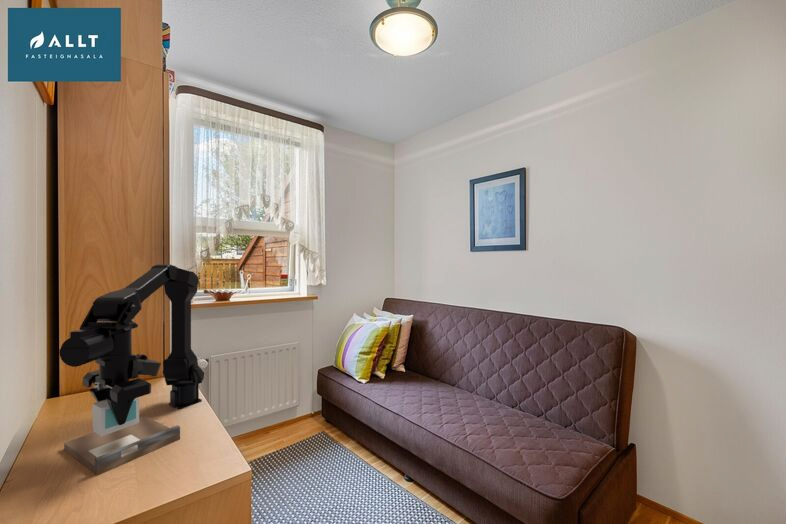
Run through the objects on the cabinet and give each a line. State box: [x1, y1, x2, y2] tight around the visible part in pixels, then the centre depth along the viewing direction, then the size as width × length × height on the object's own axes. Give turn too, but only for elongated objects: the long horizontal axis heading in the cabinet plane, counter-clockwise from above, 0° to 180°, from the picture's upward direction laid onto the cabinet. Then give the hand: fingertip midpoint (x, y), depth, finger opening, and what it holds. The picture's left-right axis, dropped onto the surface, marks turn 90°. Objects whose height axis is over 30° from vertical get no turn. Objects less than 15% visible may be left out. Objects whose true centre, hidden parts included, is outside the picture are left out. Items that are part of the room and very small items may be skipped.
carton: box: [91, 397, 140, 437], centre depth 77 cm, size 5×7×6 cm
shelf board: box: [63, 414, 181, 476], centre depth 81 cm, size 16×18×3 cm
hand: (116, 421), depth 77 cm, fingers closed on carton, 5 cm apart
